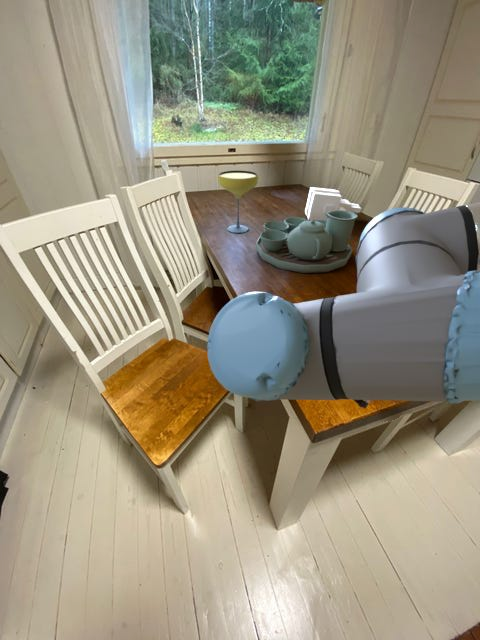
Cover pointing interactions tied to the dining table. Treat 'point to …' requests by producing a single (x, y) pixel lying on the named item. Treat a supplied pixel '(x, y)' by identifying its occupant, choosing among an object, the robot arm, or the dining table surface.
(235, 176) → the cocktail glass
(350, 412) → the dining table surface
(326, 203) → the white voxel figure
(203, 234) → the dining table surface
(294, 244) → the tea set
